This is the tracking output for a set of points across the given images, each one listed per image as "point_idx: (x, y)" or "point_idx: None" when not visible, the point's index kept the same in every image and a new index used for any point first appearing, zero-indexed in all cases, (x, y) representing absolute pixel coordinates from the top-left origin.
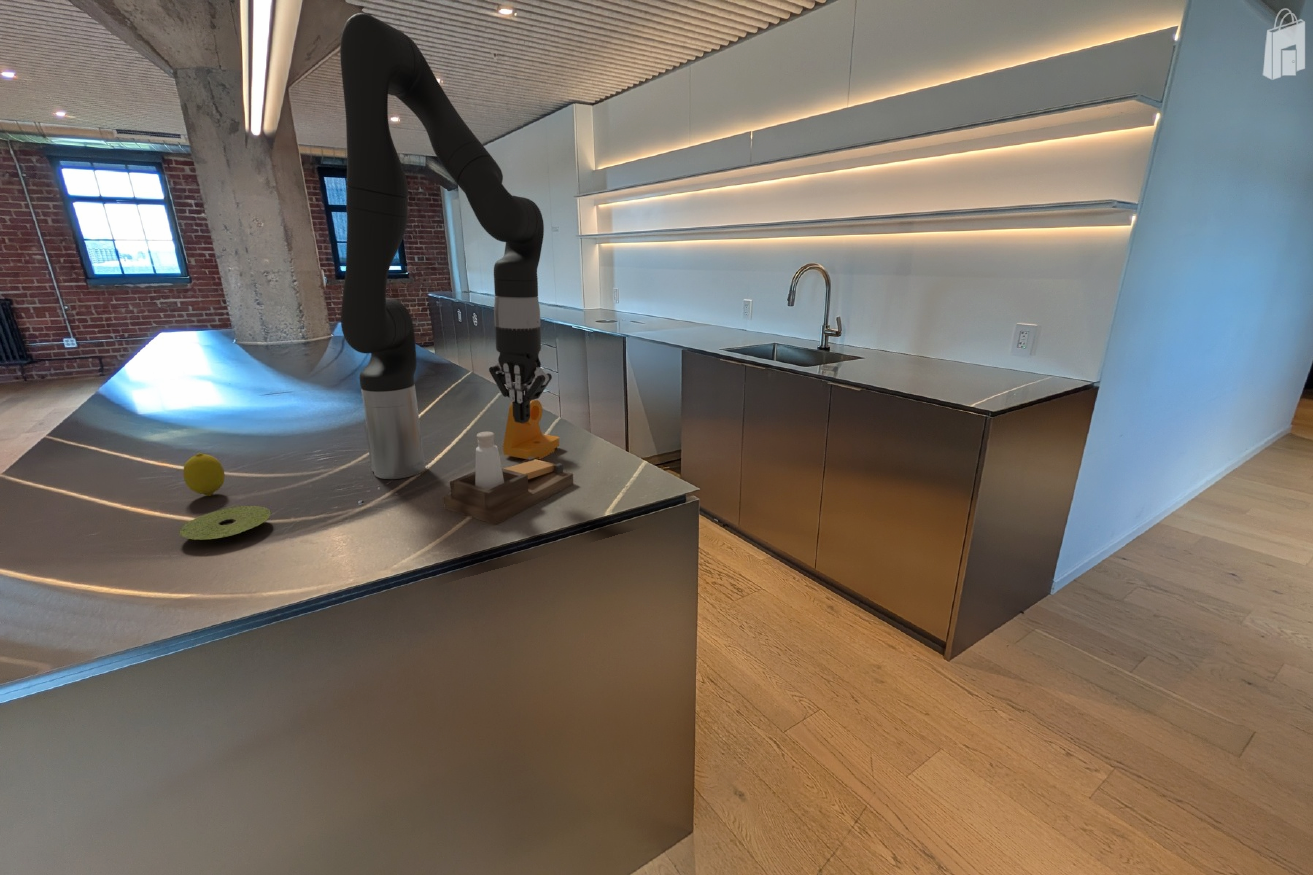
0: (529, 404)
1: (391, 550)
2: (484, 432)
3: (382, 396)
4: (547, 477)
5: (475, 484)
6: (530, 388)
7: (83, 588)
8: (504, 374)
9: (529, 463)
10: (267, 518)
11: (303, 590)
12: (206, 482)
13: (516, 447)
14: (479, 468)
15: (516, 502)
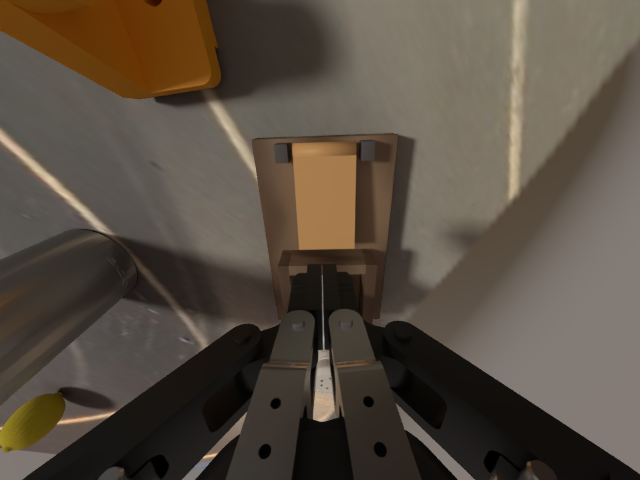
0: (357, 311)
1: None
2: (320, 380)
3: None
4: (361, 184)
5: None
6: (440, 440)
7: (206, 457)
8: (154, 468)
9: (307, 186)
10: None
11: (322, 420)
12: (58, 418)
13: (156, 80)
14: None
15: (382, 285)
